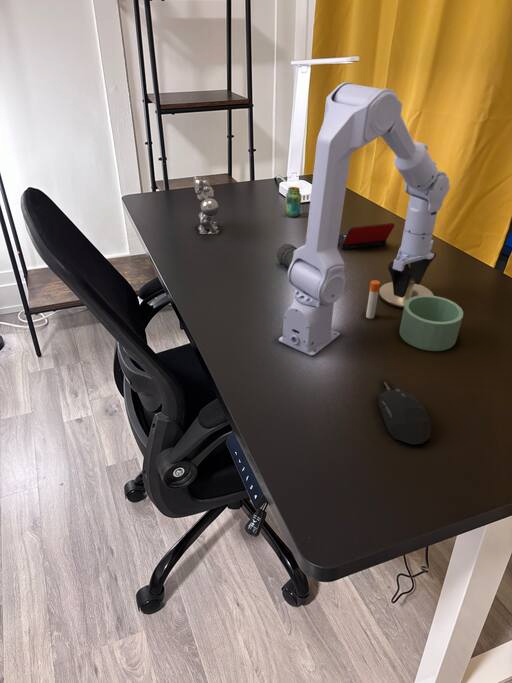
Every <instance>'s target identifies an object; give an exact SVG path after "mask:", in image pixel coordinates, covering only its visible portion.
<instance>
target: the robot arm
mask: <svg viewBox="0 0 512 683" xmlns="http://www.w3.org/2000/svg"><path fill="white" fill-rule="evenodd" d="M402 110H403V103H402V101H400V100H399V97H398V95H397V93H396V92H395V91H394V90H393V89H392V88H391V89H390V88H379V87H373V86H367V85H360V84H355V83H353V82H348V81H344V82H342V83H340V84H338V85H337V86H336V87H335V88H334V89H333V90H332V91H331V92H330V93H329V94H328V95H327V96H326V99H325V107H324V115H323V121H322V124H321V126H320V130H319V133H318V136H317V139H316V144H315V145H316V146H315V155H314V165H313V172H312V181H311V190H310V200H309V208H308V218H307V228H306V237H305V244H303V245H301V246H299V247H298V248H297V249H296V250H295V251H294V254H293V260H292V262H291V264H290V267H289V268H288V270H287V281H288V283H289V284H290V285H291V286H293V287H292V292H293V293H294V299H293V301H292V303H291V305H290V306H289V307H288V308H287V309H286V310H285V311H284V314H283V318H282V321H283V322H282V336H280V337H279V338H278V342H279V343H282V344H284V345H287V346H288V347H291V348H293V349H295V350H297V351H299V352H302V353H304V354H306V355H308V356H311V357H313V356H315V355H316V354H318V353H319V352H320V351H321V350H323V349H324V348H325V347H326V346H328V345H329V344H331V342H333V341H334V340H335V339H337V338H338V337H339V336H340V332H339V331H337V330H334V329H332V324H333V314H334V307H335V306H334V304H335V303H336V302H338V300H339V299H341V297H342V295H343V294H344V292H345V289H346V285H347V280H346V275H345V267H346V263H345V262H344V259H343V258H342V255H341V254H340V251H339V249H338V247H339V245H338V239H339V235H340V231H341V224H342V218H343V210H344V204H345V197H346V191H347V184H348V177H349V169H350V162H351V157H352V154H354V152H355V151H356V150H358V149H359V148H363V147H364V146H367V145H368V144H369V143H371V142H373V141H375V140H376V139H378V138H380V137H381V138H382V140H383V141H384V142H385V143H386V144H387V146H389V148H390V149H391V151H392V152H393V153H394V155H395V156H394V159H393V163H394V167H395V168H396V170H397V171H398V172H399V174H400V176H402V178H403V181H404V192H405V193H406V194H408V195H409V199H408V204H407V210H406V216H405V221H404V227H403V231H402V238H401V242H400V243H401V244H400V246H399V249H398V252H397V255H396V258H395V259H394V260H393V261H391V262H389V263H388V265H387V270H388V272H389V274H390V277H391V282H393V292H394V295H395V296H398V297H401V298H403V297H404V296H405V294H406V291H407V288H408V285H409V283H410V281H411V279H412V278H413V279H414V280H415V282H414V284H417V285H421V282H422V280H423V278H424V276H425V274H426V272H427V269H428V267H429V266H430V264H431V263H432V262H433V260H434V259H435V258H436V257H437V253H436V252H434V251H431V250H432V249H433V245H434V240H433V235H434V230H435V225H436V221H437V217H438V213H439V212H438V211H440V210H441V208H442V207H443V203H444V200H445V198H446V197H447V195H448V192H449V191H450V187H451V185H450V179H449V177H448V175H447V174H446V172H444V171H441V170H439V169H438V167H437V166H436V165H437V163H436V161H435V160H433V158H432V157H431V155H430V154H429V152H428V150H429V147H428V145H427V144H426V143H422V142H420V141H414V140H413V137H412V135H411V133H410V131H409V129H408V127H407V124H406V123H405V121H404V119H403V116H402Z"/></svg>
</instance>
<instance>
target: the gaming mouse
mask: <svg viewBox="0 0 512 683" xmlns="http://www.w3.org/2000/svg"><path fill="white" fill-rule="evenodd" d="M383 384H384V386H385V388H386V390H385V391H383V392H382V393H380V394H379V398H378V401H377V404H378V408H379V410H380V413H381V416H382V418H383V421H384V424H385V426H386V429H387V431H388V432H389V434H390V435H391V436H392V437H393V439H396V440H398V441H401V442H404V443H406V444H409V445H420V444H423V443H425V442H426V441H428V440H429V439H430V438H431V436H432V435H431V434H432V421H431V420H430V417H429V414H428V412H427V410H426V408H425V407H424V405H423V404H422V403H421V401H420V400H418V398H416V396H414V395H413V394H411V393H409V392H406V391H403V390H401V389H400V388H395V389H392V388H391V387H390V386H389V385H388V383H387V382H386V381H384V382H383Z"/></svg>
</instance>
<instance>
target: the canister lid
mask: <svg viewBox="0 0 512 683" xmlns="http://www.w3.org/2000/svg"><path fill="white" fill-rule="evenodd" d="M414 282H415V280H414V279H413V278H412V279H411V281H410V283H409V285H408V288H407V291H406V294H405V296H404V297H403V298H401V297H398V296H395V295H394V292H393V282H392V281H389V282H387V283H384V284H382V285H380V287H379V291H378V296H379V297H380V298H381V299H382V300H383V301H384V302H385V303H386V304H389V305H391V306H395V307H397V308H401V309H404V305H405V302H406V301H407V300H408V299H410V298H412V297H415V296H420V295H432V296H435V295H434V293H433V291H431V290H430V289H429V288H427V286H424V285H422V284H419V285H417V284H414Z"/></svg>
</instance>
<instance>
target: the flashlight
mask: <svg viewBox="0 0 512 683" xmlns="http://www.w3.org/2000/svg"><path fill="white" fill-rule="evenodd" d="M296 249H298V248H297V247H296V246H295V245H293V244H291V243H284V244H282V245H280V246H279V248H278V249H277V252H276V258H277V261H278V262H279V264H281V265H282V266H284V267H285V268H288V269H289V267H290V264H291V262H292V260H293V254H294V251H295V250H296Z"/></svg>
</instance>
